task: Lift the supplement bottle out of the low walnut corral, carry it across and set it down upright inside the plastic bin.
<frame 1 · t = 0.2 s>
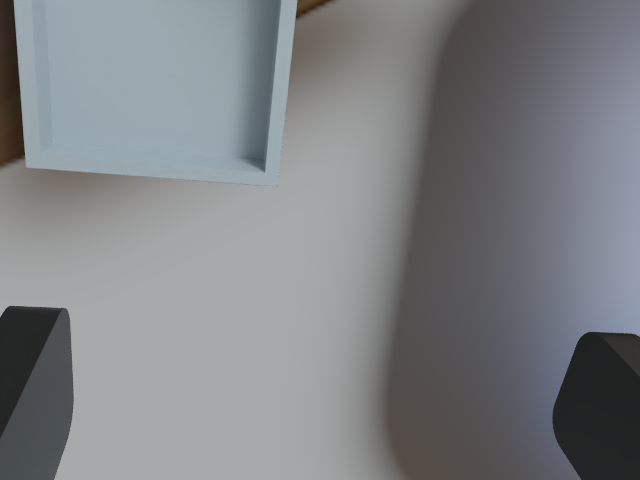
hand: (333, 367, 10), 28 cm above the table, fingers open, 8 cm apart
bin: (164, 43, 34), on the table
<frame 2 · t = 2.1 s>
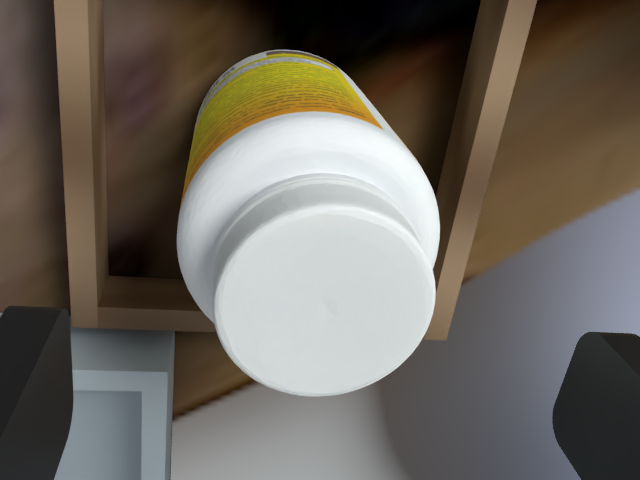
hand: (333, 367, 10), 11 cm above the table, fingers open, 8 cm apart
corral: (284, 135, 20), on the table
supplement bottle: (283, 133, 20), resting in corral
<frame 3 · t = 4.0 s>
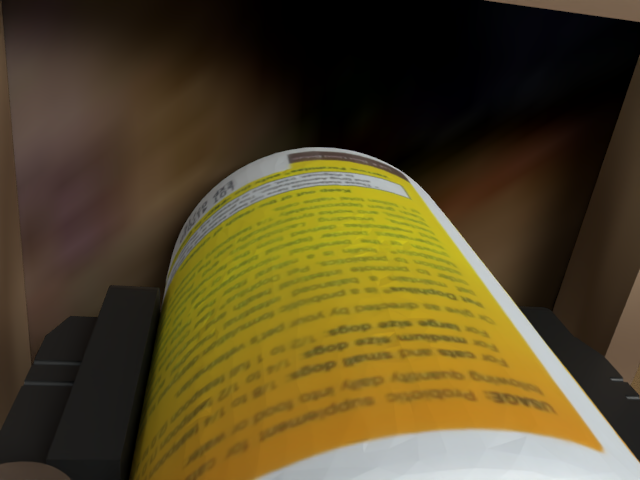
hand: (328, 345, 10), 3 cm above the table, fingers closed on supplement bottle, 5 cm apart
corral: (312, 271, 12), on the table
supplement bottle: (311, 266, 13), resting in corral, touching gripper
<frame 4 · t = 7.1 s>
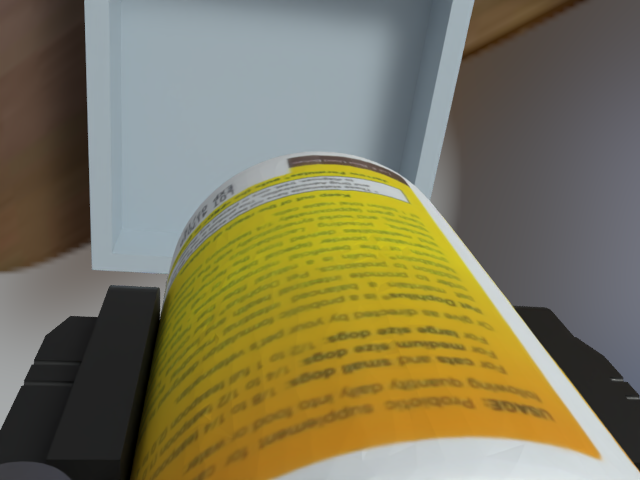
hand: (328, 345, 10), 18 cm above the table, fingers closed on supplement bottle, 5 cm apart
supplement bottle: (310, 269, 13), point 15 cm above the table, touching gripper
bin: (270, 104, 26), on the table
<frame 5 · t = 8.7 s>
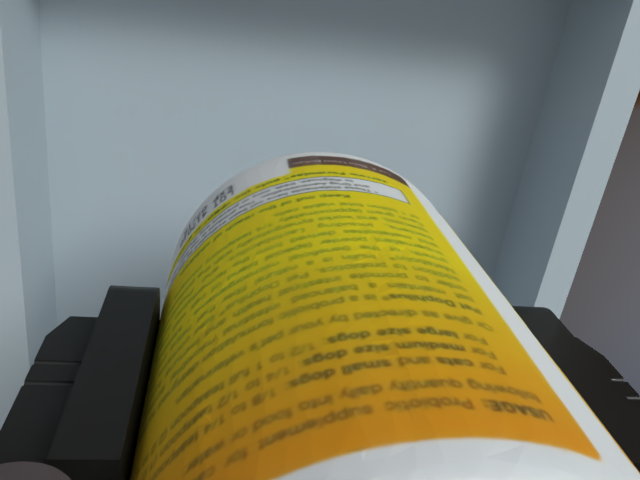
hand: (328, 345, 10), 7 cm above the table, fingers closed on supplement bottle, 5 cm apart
supplement bottle: (310, 270, 13), point 4 cm above the table, touching gripper
bin: (292, 192, 16), on the table
when the fingers open (4 cm above the table, at t = 10.2 s): supplement bottle drops 1 cm, resting on bin.
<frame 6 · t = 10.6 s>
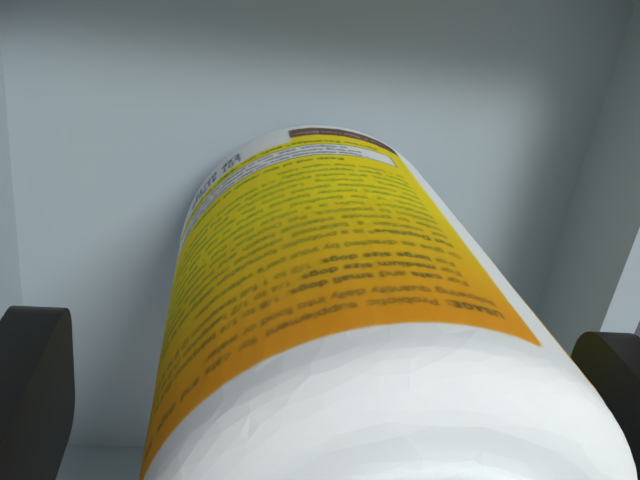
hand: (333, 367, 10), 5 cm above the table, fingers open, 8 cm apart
supplement bottle: (309, 236, 14), resting on bin
bin: (301, 231, 14), on the table
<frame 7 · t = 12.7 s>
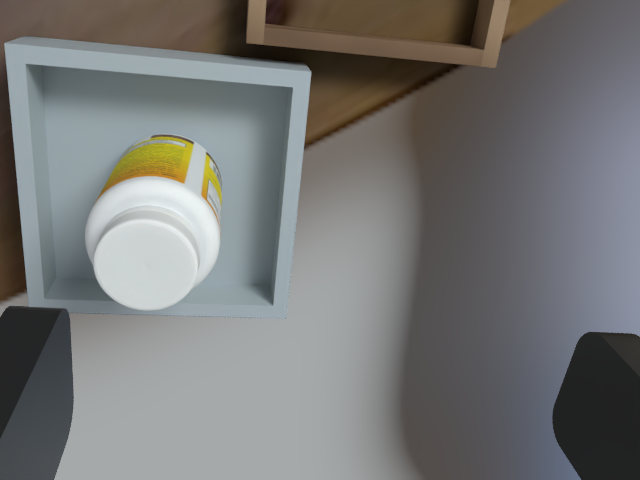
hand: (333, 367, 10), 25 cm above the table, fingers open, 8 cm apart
supplement bottle: (170, 180, 33), resting on bin
bin: (168, 179, 33), on the table
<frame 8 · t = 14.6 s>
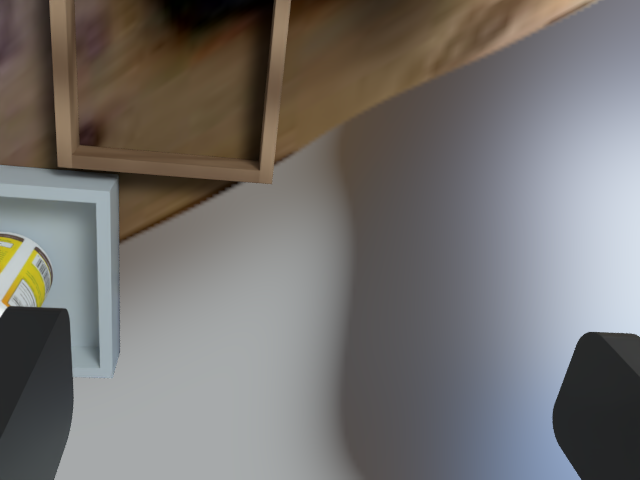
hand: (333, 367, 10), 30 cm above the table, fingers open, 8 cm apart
corral: (174, 63, 36), on the table
supplement bottle: (12, 265, 40), resting on bin
bin: (12, 263, 40), on the table
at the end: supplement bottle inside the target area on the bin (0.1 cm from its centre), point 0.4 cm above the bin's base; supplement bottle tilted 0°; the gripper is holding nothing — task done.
